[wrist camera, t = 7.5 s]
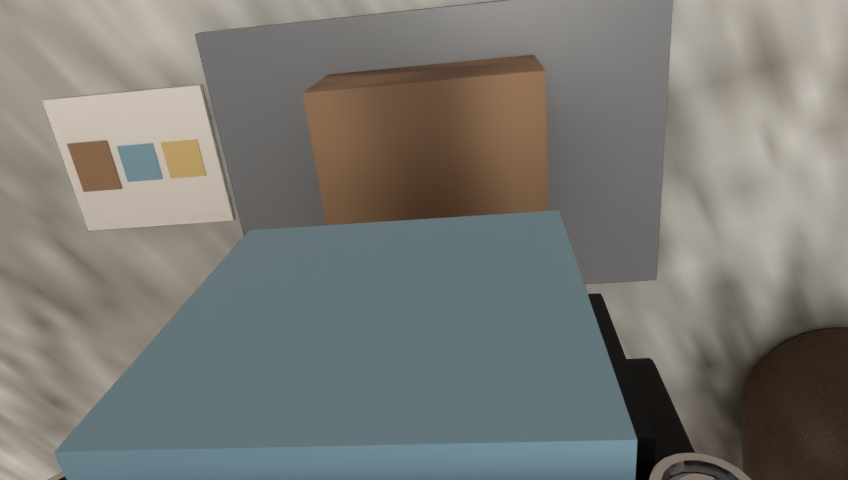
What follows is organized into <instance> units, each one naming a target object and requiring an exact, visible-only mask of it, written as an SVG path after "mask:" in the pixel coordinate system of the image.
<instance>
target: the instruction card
mask: <svg viewBox="0 0 848 480" xmlns="http://www.w3.org/2000/svg"><path fill="white" fill-rule="evenodd" d="M42 101H43V104H44V107H45V110H46V113H47V116H48V118H49V121H50V124H51V127H52V130H53V132H54V135H55V138H56V141H57V144H58V147H59V149H60V152H61V155H62V158H63V161H64V163H65V166H66V169H67V172H68V175H69V178H70V180H71V183H72V186H73V189H74V192H75V194H76V197H77V200H78V203H79V206H80V209H81V211H82V214H83V217H84V220H85V223H86V225H87V228H88V231H92V230H106V229H120V228H135V227H149V226H163V225H177V224H192V223H206V222H220V221H233V220H234V219H235V217H234V213H233V209H232V205H231V201H230V197H229V193H228V189H227V185H226V181H225V177H224V172H223V168H222V164H221V160H220V156H219V152H218V148H217V144H216V140H215V136H214V132H213V128H212V124H211V120H210V116H209V112H208V108H207V104H206V99H205V95H204V91H203V87H202V85H192V86H181V87H171V88H160V89H150V90H140V91H129V92H119V93H109V94H98V95H88V96H77V97H67V98H57V99H46V100H42Z"/></svg>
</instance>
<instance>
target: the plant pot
mask: <svg viewBox="0 0 848 480" xmlns="http://www.w3.org/2000/svg"><path fill="white" fill-rule="evenodd" d="M741 439H742V456H743V471H744V473H745V474H746V475H747V476H748V477H749V478H750V479H751V480H848V328H832V329H824V330H818V331H813V332H809V333H806V334H802V335H800V336H798V337H795V338H793V339H790V340H788V341H787V342H785V343H783V344H782V345H780V346H778V347H777V348H775V349H774V350H772V351H771V352H770V353H768V354H767V355H766V356H765V357H764V358H763V359H762V360H761V361H760V362H759V363H758V364H757V365H756V366H755V368H754V369H753V370H752V372H751V373H750V375H749V376H748V378H747V380H746V383H745V385H744V388H743V392H742V396H741Z"/></svg>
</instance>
